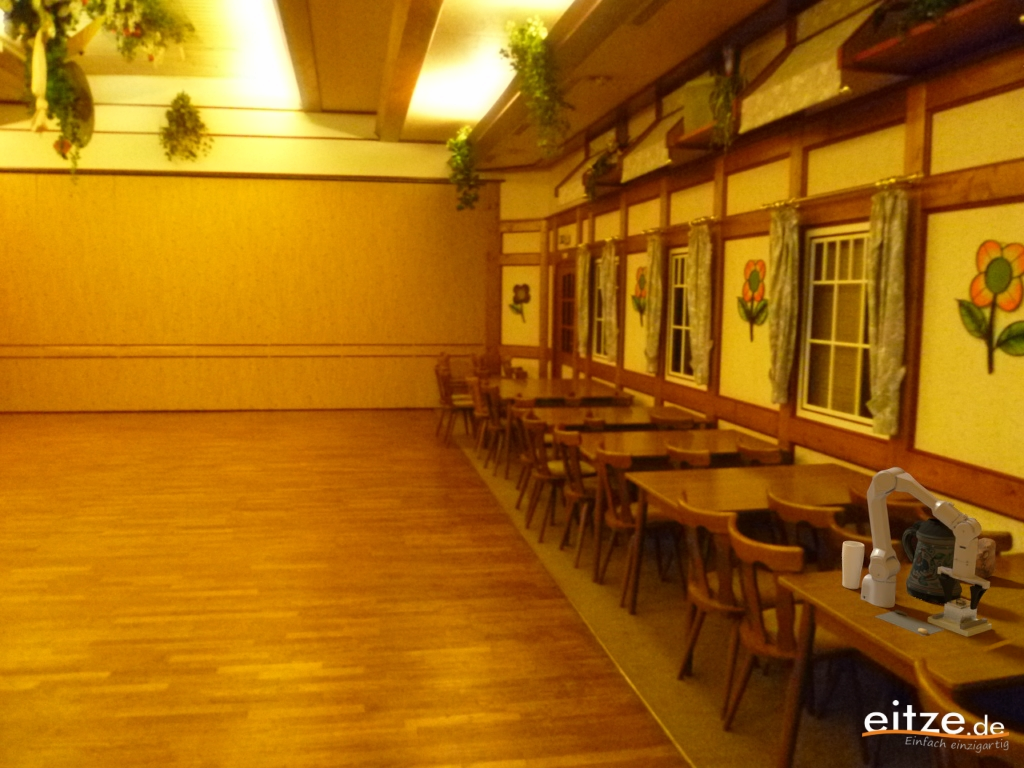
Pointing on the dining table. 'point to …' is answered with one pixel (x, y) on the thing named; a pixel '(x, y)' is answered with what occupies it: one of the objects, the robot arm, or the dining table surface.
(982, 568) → the rough brown rock
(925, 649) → the dining table surface
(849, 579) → the drinking glass
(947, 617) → the housing
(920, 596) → the beer stein
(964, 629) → the stand
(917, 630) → the mat
